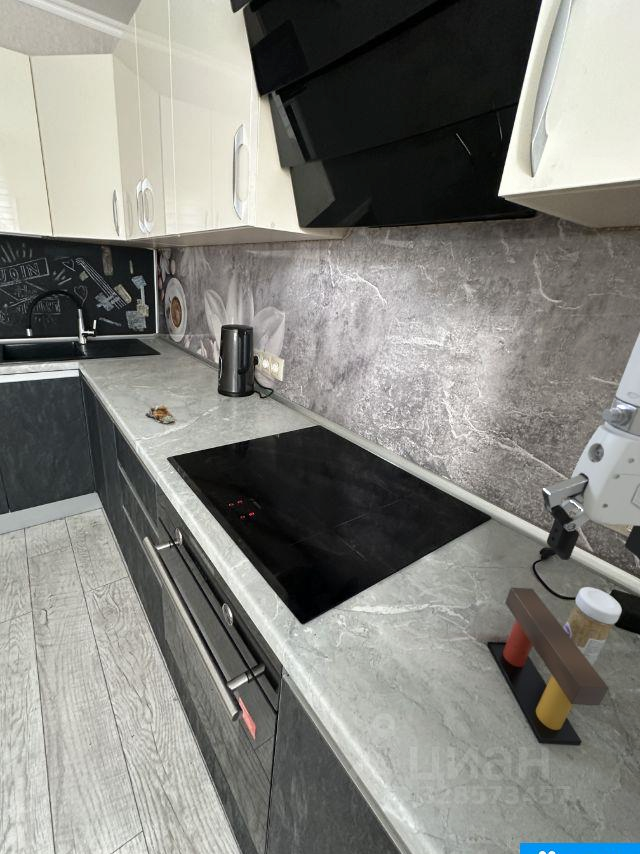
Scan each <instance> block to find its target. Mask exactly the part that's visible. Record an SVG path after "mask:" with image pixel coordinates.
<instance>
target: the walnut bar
mask: <svg viewBox="0 0 640 854" xmlns="http://www.w3.org/2000/svg"><path fill="white" fill-rule="evenodd" d="M504 604H505V606H507V608H508V610H509V612H510V613H511V614H512V616H513V618H514V619H516V620H517V622H518V623H519V625H520V626H521V628H522V629H523V631H524V633H525V634H526V636H527V637H528V639H529V640H530V642H531V643H532V647H533V649H535V651H536V653H537V654H538V655H539V657H540V658H541V660H542V662H543V663H544V665H545V666H546V668H547V669H548V671H549V672H550V674H551V676H552V675H553V677H554V678H555V680H556V681H557V683H558V685H559V686H560V688H561V689H562V691H563V692H564V694H565V695H566V697H567V698H568V700H569V701H570V703H571V704H573V705H578V706H579V705H580V706H595V707H596V706H597V707H598V706H600V705H601V703H602V702H603V700H604V698H605V696H606V694H607V692H608V691H609V689H610V687H609V686H608V685H607V683H606V682H605V681H604V680H603V678H602V677H601V676H600V674H599V673H598V672H597V670H596V669H595V668H594V666H593V665H591V664H590V663H589V661H588V660H587V659H586V657H585V656H584V655H583V654H582V652H581V651H580V650H579V648H578V647H577V646H576V644H575V643H574V642H573V641H572V639H571V638H570V637H569V635H568V634H567V633H566V631H565V630H564V629H563V628H564V627H563V625H561V623H560V622H559V621H558V620H557V618H556V617H555V616H554V614H553V613H552V611H551V610H550V609H549V608H548V607H547V605H546V604H545V603H544V601H543V599H541V598H540V596H539V595H538V594H537V592H536V591H535V589H534V588H529V587H510V589H509V591H508V594H507V597H506V599H505V602H504Z"/></svg>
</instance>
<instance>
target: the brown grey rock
mask: <svg viewBox="0 0 640 854" xmlns="http://www.w3.org/2000/svg"><path fill="white" fill-rule="evenodd" d="M168 410H169V407H168V406H165V405H161V406H159V405H156V406H154V407H152V406H149V412H145V416H146V417H147V418H149V416H151V417H153V418H154V420H155V421H156V422H157V423H161V424H169V423H171V422H176V420H175V419H174V418H173V415H172V413H171V412H170V411H168Z"/></svg>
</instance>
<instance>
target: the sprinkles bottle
mask: <svg viewBox="0 0 640 854" xmlns="http://www.w3.org/2000/svg"><path fill="white" fill-rule="evenodd" d="M574 600H575V601H574V602H575V603H574V606H573V608H572V610H571V612H570V615H569V617H568V619H567V621H566V622H565V623H564V624H565V625H564V627H562V628H563V629H564V630H565V631H566V633H567V634H568V635H569V637H570V638H571V639H572V641H573V642H574V643H575V644H576V646H577V647H578V648H579V650H580V651H581V652H582V654H583V655H584V656H585V657H586V659H587V660H588V661H589V663H590V664H591V665H592V666H594V664H595V662H596V660H597V658H598V657H599V654H600V652H601V650H602V648H603V647H604V645H605V643H606V641H607V639H608V636H609V633H610V632H611V630H612V628H613V626H614V625H615V624H617V622H618V621H619V619H620V616H621V614H622V611H623V609H622V606H621V604H620V603H619V601H617V599H615V598H614V596H612V595H611V594H609V593H607V592H606V591H603V590H601V589H599V588H595V587H591V586H586V587H582V588H580V589H579V591H578V592H577V595H576V597H575V599H574Z"/></svg>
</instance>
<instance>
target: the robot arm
mask: <svg viewBox="0 0 640 854" xmlns="http://www.w3.org/2000/svg"><path fill="white" fill-rule="evenodd" d="M601 419H602V420H603V421H605V422H604V424H599V426H598V427H597V429H596V430H595V431H594V433H593V434H592V436H591V438H590V439H589V440H588V443H587V444H586V446H585V447H584V450H583V451H582V453H581V455H580V457H579V458H578V460H577V463H576V465H575V468H574V469H573V472H572V475H571V477H570V478H567V479H564V480H561V481H558V482H555V483H552V484H550V485H547V486H545V487H543V488H542V490H541V492H542V497H543V501H544V507H545V509H546V510H547V511H548V513H549V514H550V516H551V517H552V518H553V519H554V520H553V523H552V525H551V527H550V530H549V533H548V537H547V538H546V544H547V546H548V547H549V548H550V549H551V550H552V551H553V552H554V553H555V554H556V555H557V556H558V557H559V558H560V559H561V560H562V561H569V559H571V556H572V554H573V551H574V549H575V546H576V544H577V541H578V539H579V537H580V533H579V531H578V530H576V529H578V528H580V527H581V526H583V525H584V524H586V523H587V522H588V521H590V520H591V521H593V522H594V523H597V524H601V525H612V526H630V527H631V526H632V528H631V530H630V532H629V534H628V537H627V539H626V541H625V543H624V547H625V549H627V550H628V551H629V552H631V554H633V555H634V556H635V557H637V558H638V559H639V560H640V332H639V333H638V335H637V338H636V340H635V343H634V346H633V347H632V351H631V354H630V356H629V358H628V362H627V364H626V367H625V369H624V372H623V374H622V377H621V379H620V382H619V385H618V387H617V390H616V393H615V395H614V398H613V401H612V403H611V406H610V408H604V409H603V410H602V412H601ZM565 498H566V500H564V499H565ZM563 500H564V501H563ZM575 509H578V512H577V513H575V514H573V515H572V516H570V515H569V513H571V512H572V511H574V510H575Z"/></svg>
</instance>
